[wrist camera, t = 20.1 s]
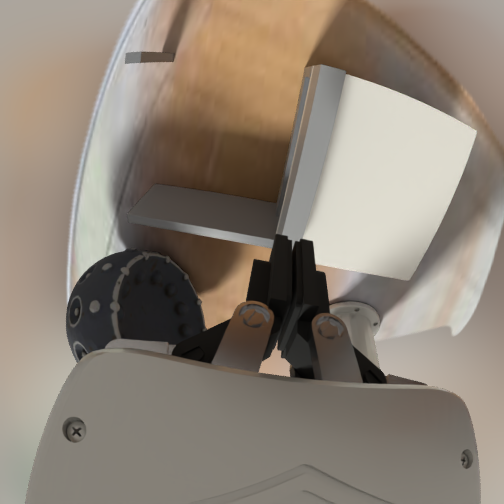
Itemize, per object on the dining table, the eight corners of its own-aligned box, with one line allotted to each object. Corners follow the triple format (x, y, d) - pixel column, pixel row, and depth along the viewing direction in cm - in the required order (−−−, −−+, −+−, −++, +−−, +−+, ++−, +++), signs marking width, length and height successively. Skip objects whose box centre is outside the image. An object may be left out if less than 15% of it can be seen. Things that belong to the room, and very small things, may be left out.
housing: (387, 235, 33) (405, 273, 27) (155, 190, 33) (127, 222, 27) (433, 111, 23) (470, 127, 17) (161, 53, 23) (125, 52, 17)
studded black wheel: (153, 212, 35) (73, 332, 19) (222, 312, 46) (196, 427, 30) (103, 236, 39) (30, 338, 23) (172, 322, 49) (138, 421, 33)
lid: (406, 274, 27) (419, 308, 23) (272, 249, 27) (268, 285, 23) (471, 128, 17) (504, 146, 13) (312, 65, 17) (321, 64, 13)
